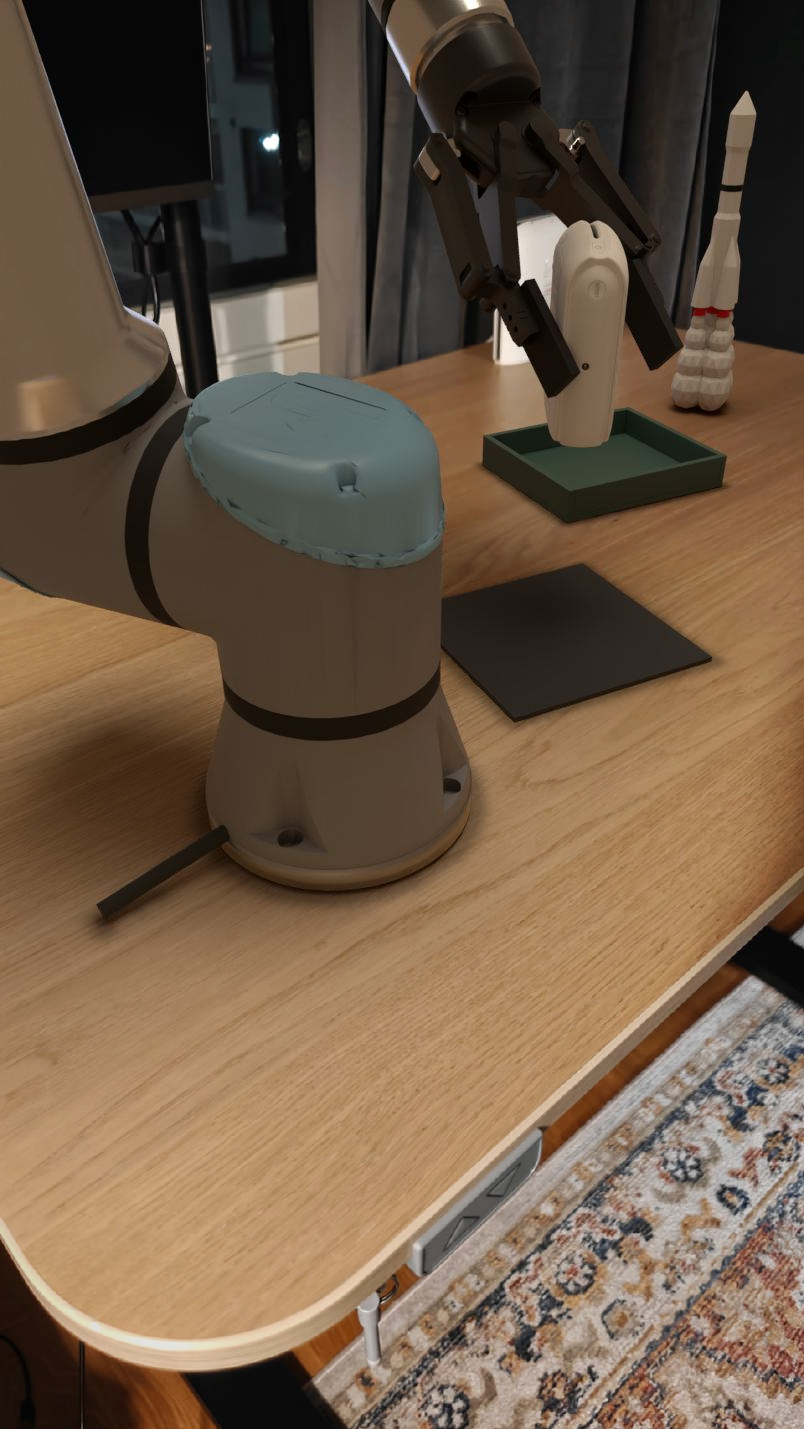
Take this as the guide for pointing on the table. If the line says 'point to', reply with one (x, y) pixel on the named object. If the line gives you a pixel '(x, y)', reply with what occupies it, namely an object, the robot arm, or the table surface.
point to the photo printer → (588, 330)
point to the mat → (558, 640)
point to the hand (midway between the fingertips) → (617, 371)
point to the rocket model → (717, 283)
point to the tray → (604, 466)
